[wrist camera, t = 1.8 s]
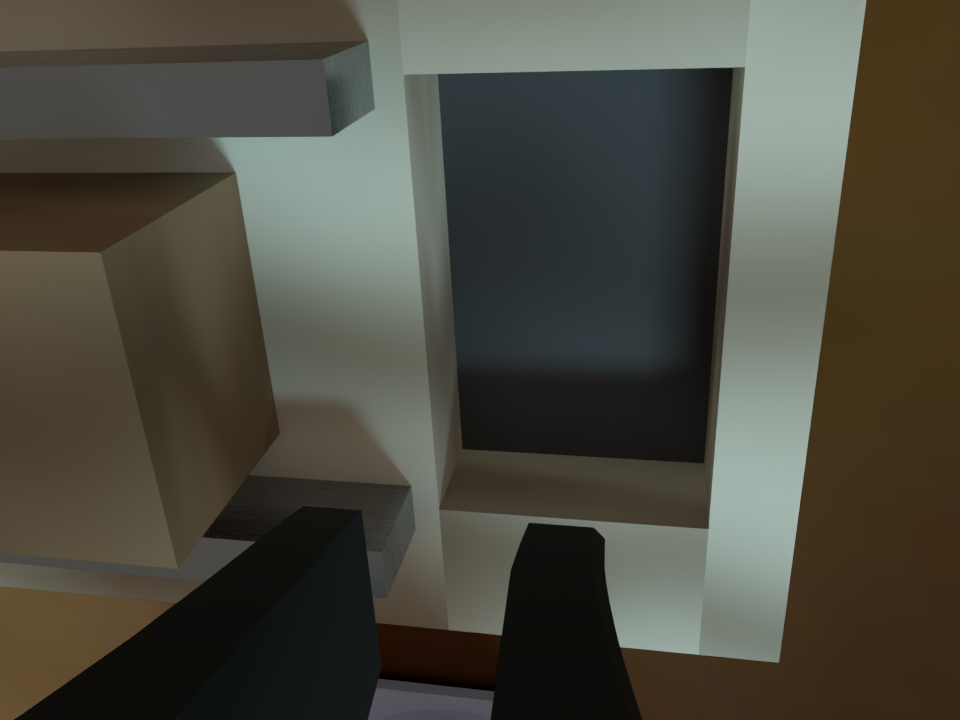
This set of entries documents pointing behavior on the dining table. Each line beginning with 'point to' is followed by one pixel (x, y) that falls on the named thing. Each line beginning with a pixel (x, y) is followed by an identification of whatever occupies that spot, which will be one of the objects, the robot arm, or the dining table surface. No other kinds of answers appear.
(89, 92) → the grey metal bar
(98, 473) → the walnut block
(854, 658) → the dining table surface
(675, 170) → the grey flat piece
